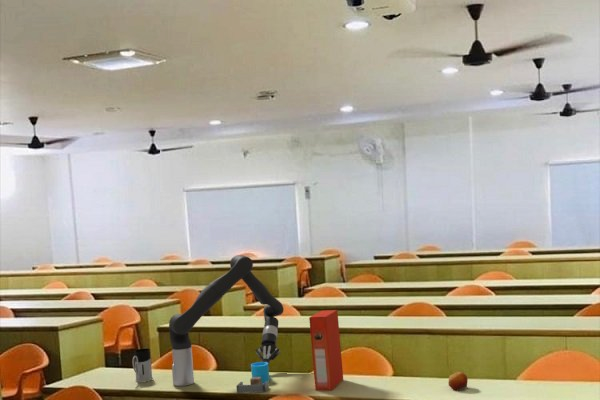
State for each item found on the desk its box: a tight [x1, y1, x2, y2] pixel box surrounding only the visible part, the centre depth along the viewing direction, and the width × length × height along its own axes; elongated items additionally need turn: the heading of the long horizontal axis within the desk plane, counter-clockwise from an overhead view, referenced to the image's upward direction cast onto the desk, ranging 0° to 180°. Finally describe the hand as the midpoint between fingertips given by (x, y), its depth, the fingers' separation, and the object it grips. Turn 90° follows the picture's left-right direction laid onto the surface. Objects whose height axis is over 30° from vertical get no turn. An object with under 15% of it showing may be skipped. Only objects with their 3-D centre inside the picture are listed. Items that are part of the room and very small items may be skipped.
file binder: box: [308, 309, 344, 391], centre depth 291 cm, size 8×17×32 cm, turn 160°
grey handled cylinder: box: [131, 348, 154, 383], centre depth 323 cm, size 9×14×15 cm, turn 166°
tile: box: [249, 376, 262, 385], centre depth 297 cm, size 4×4×4 cm
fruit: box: [448, 371, 469, 391], centre depth 270 cm, size 8×8×8 cm
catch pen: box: [235, 381, 270, 393], centre depth 292 cm, size 13×6×3 cm, turn 79°
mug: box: [250, 361, 270, 384], centre depth 308 cm, size 12×8×8 cm
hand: (265, 366), depth 316 cm, fingers closed
